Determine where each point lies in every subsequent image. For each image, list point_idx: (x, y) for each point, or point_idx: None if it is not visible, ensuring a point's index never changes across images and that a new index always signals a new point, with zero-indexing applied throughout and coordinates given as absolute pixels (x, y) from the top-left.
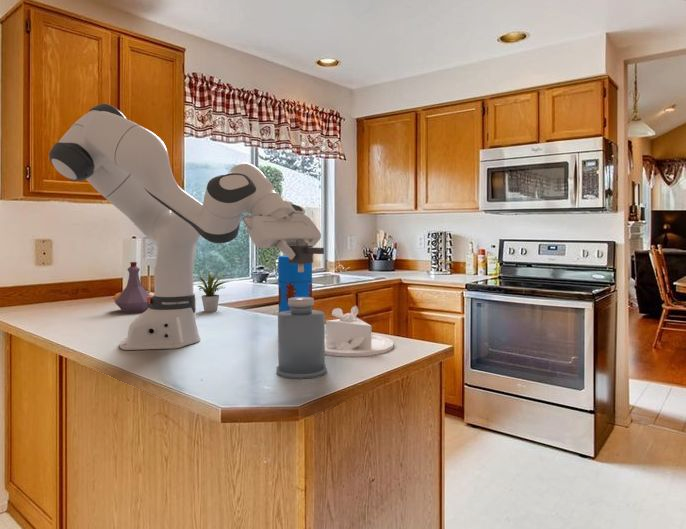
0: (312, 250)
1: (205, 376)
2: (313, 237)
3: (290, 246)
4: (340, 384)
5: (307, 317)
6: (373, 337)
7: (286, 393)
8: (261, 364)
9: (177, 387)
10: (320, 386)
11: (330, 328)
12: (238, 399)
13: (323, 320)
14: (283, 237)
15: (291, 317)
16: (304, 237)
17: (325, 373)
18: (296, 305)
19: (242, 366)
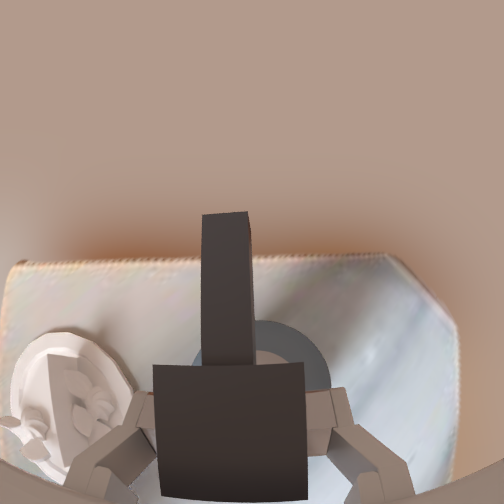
0: (252, 287)
1: None
2: (7, 462)
3: (307, 478)
4: (275, 273)
5: (294, 329)
6: (20, 396)
7: (368, 306)
8: None
9: (451, 445)
10: (306, 291)
11: (71, 454)
12: (430, 336)
13: None
14: (408, 501)
15: (325, 363)
16: (93, 497)
17: None
18: None
19: (314, 486)
